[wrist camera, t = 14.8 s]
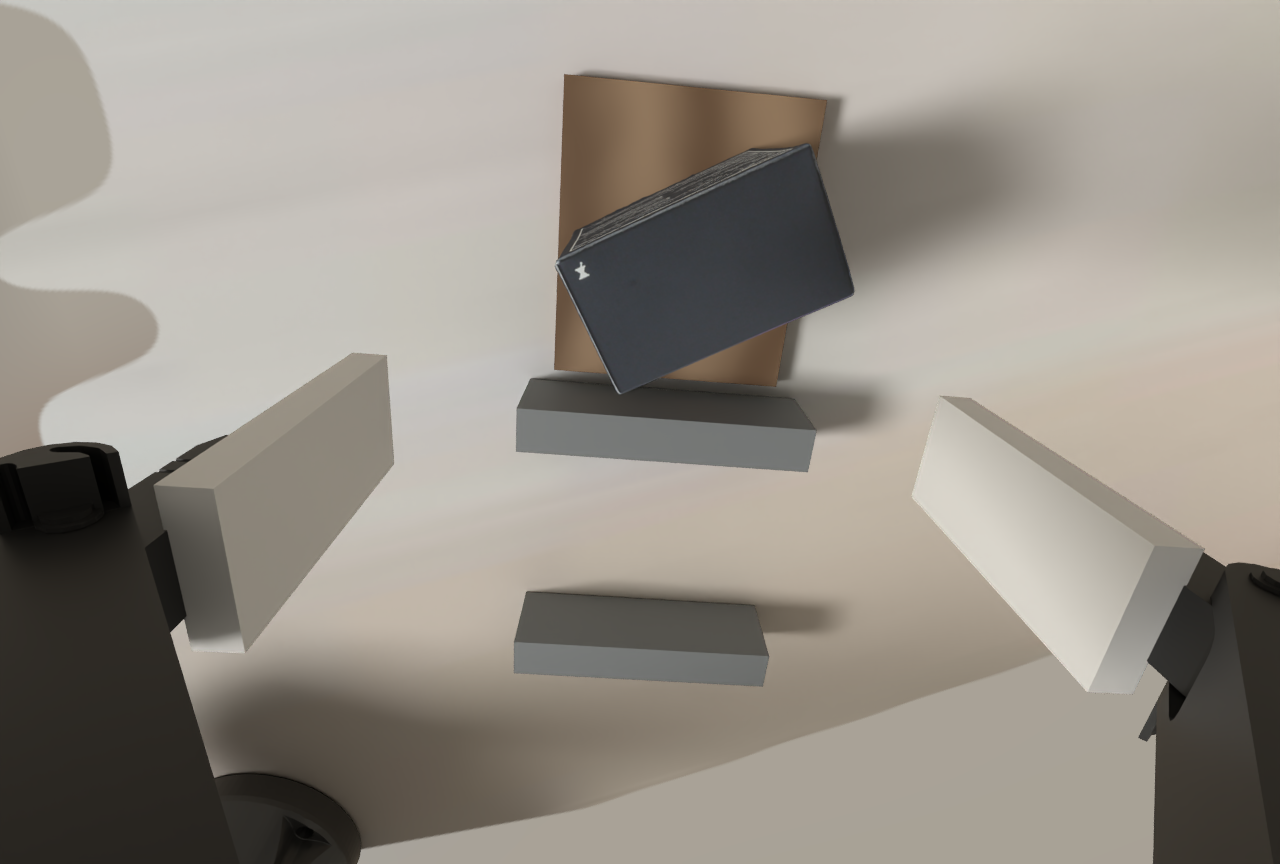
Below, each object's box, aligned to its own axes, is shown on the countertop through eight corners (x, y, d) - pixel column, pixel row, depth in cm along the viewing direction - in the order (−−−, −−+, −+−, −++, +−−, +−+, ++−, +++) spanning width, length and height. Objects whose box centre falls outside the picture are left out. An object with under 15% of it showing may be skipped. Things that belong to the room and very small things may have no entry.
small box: (619, 341, 36) (616, 405, 26) (568, 231, 33) (544, 258, 24) (796, 263, 34) (862, 301, 25) (755, 142, 32) (811, 132, 22)
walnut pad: (556, 364, 37) (554, 369, 36) (566, 77, 32) (564, 74, 31) (772, 381, 38) (776, 386, 37) (821, 102, 32) (826, 100, 31)
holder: (525, 620, 45) (513, 673, 40) (530, 378, 38) (516, 408, 33) (749, 633, 45) (762, 686, 41) (794, 398, 38) (816, 430, 34)
